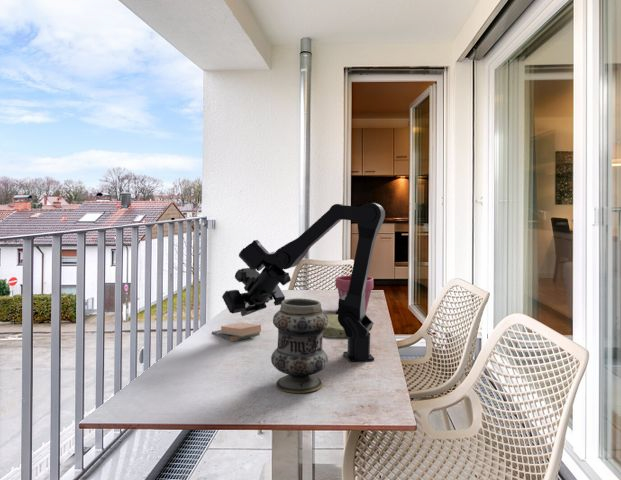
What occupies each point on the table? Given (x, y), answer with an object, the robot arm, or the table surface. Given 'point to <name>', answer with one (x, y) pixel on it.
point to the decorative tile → (334, 327)
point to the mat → (222, 334)
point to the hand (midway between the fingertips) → (242, 314)
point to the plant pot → (344, 282)
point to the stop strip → (235, 338)
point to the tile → (241, 329)
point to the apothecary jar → (299, 345)
